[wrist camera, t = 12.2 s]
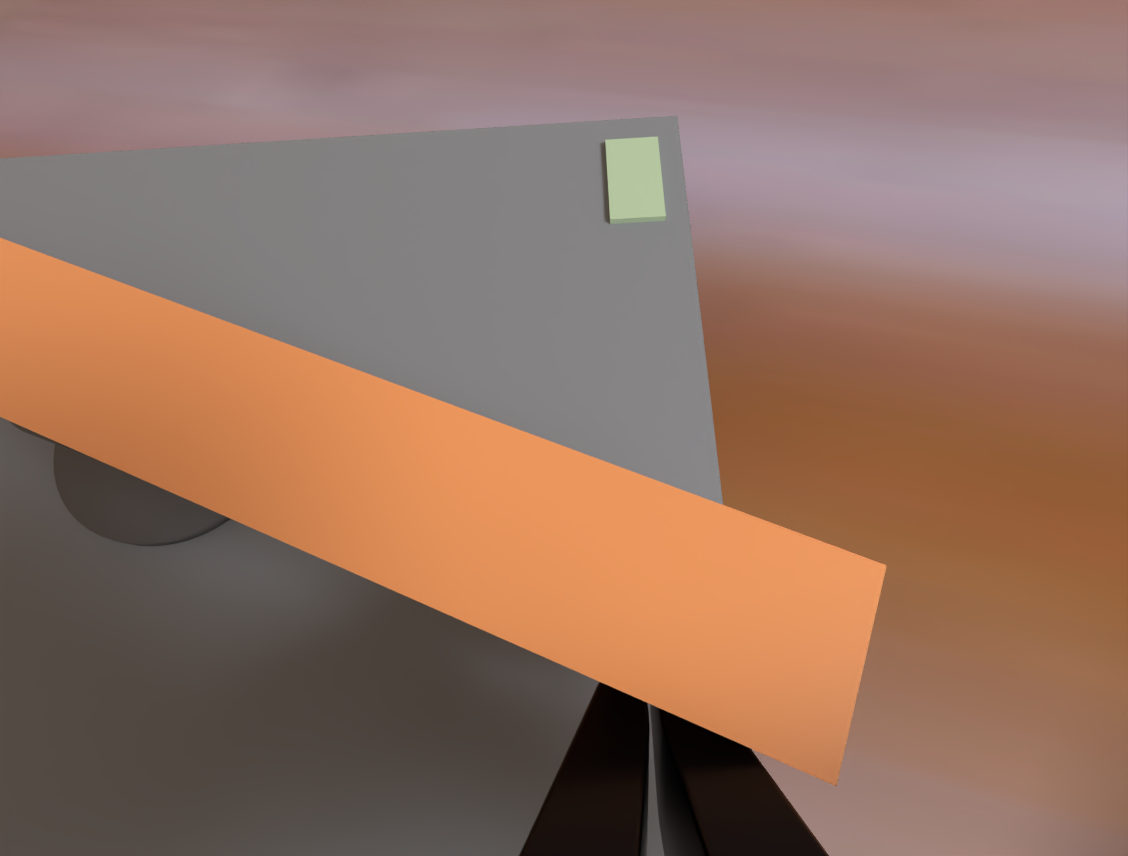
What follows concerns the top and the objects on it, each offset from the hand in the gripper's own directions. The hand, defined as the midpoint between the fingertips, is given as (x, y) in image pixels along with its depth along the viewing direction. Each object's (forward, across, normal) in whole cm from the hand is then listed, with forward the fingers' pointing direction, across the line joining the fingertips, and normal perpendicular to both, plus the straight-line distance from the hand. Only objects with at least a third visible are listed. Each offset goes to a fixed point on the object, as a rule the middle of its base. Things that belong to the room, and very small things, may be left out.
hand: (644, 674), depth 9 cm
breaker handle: (+8, +12, -1) cm, 14 cm away
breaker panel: (+9, +12, +1) cm, 15 cm away
